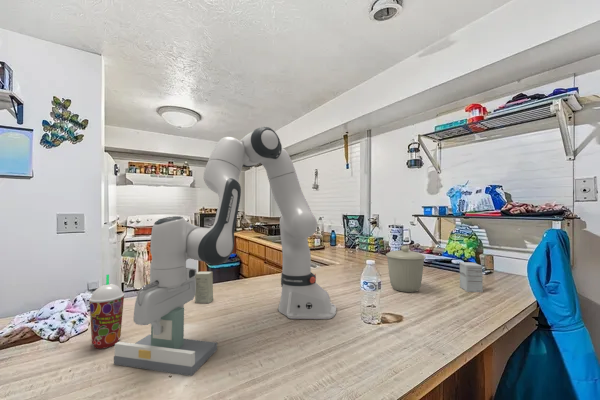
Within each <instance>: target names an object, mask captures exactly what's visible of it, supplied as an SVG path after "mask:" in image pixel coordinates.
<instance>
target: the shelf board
mask: <svg viewBox="0 0 600 400" xmlns="http://www.w3.org/2000/svg"><path fill="white" fill-rule="evenodd" d="M217 350H218V342H216V341H208V340H200V339H199V340H198V339H189V338H184V343H183V345H182V346H181V347H180V348H178V349H173V348H165V347H157V346H151V334H148V335H146V336H145V337H142V338H141V339H140V340H138V341H136V342H135V343H132V342H126V341H118V342H117V343H115V345H114V356H113V365H116V366H121V367H122V366H123V367H131V368H134V369H135V368H137V369H144V370H149V371H150V370H151V371H157V372H164V373H168V374H169V373H170V374H177V375H182V376H184V375H185V376H188V377H189V376H190V377H192V376H193V375H194V374H195V373H196V372H197V371H198V370H199V369H200V368H201V367H202V366H203V364H205V363H206V362H207V361H208V360H209V359H210V358H211V356H213V355H214V353H216V352H217Z"/></svg>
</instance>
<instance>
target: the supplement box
mask: <svg viewBox="0 0 600 400" xmlns="http://www.w3.org/2000/svg"><path fill="white" fill-rule="evenodd" d="M483 285H484V284H483V265H481V264H478V263H477V262H473V261H472V262H469V261H468V262H466V261H465V262H464V261H463V262H461V261H459V288H461V289H463V290H464V291H465V292H468V293H469V292H470V293H483V291H484V290H483V289H484V288H483Z"/></svg>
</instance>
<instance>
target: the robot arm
mask: <svg viewBox="0 0 600 400" xmlns="http://www.w3.org/2000/svg"><path fill="white" fill-rule="evenodd" d="M259 164H261V165H262V166H263V168H264V169H265V172H266V176H267V180H268V183H269V186H270V190H271V192H272V196H273V199H274V201H275V203H276V205H277V207H278V209H279V211H280V213H281V216H280V218H279V229H280V232H279V233H280V243H281V252H282V272H281V274H280V275H281V276H280V285H281V292H280V293H281V294H280V301H279V305H278V308H277V310H278V312H279V313H281V314H282V315H285V316H286V317H287V318H288V319H294V320H296V319H298V320H300V319H301V320H331V319H332V318H334V317H335V316H336V313H337V306H336V305H335V304H334V303H332V302H331V297H330V294H329V292H328V291H327V290H325V289H324V288H323V287H322V286H320V284H318V283H317V282H316V281H317V274H316V273H315V274H314V273H313V272H311V271H312V269H311V266H312V263H311V261H312V259H311V258H312V254H311V249H310V245H309V241H308V238H310V237H311V236H313V235H314V234H315V232H316V231H317V229H318V221H317V219H316V217H315V216H314V214H313V212H312V210H311V208H310V206H309V203H308V201H307V199H306V198H305V195H304V193H303V191H302V188H301V185H300V181H299V178H298V176H297V172H296V169H295V166H294V164H293V160H292V159H291V156H290V154H289V152H288V151H287V150H286V149H285V148H283V146H282V143H281V140H280V138H279V135H278V134H277V132H276V131H275V130H274V129H273V128H271V127H268V126H261V127H258V128H256V129H254V130H253V131H251V132H249V133H248V134H246V135H244V137H243V138H241V139H240V140H239V139H237V137H233V136H224V137H222V138H220V139H219V140H218V142H217V143H216V145H215V146H214V148H213V150H212V152H211V153H210V156H209V158H208V160H207V163H206V165H205V168H204V172H203V180H204V184H205V185H206V187H207V188H208V189H209V190H210V191H212V192H214V193H215V194H217V195H218V199H219V200H218V205H217V211H216V213H215V218H214V223H213V224H212V225H211V227H202V226H198V225H195V224H193V223H191V222H189V221H187V220H186V219H185V218H184V217H182V216H176V215H175V216H168V217H167V216H166V217H163V218H159V219H158V220H156V221H155V222H154V223H153V225H152V228H151V235H150V255H151V262H150V265H149V266H150V267H149V283H147V284H144V285H142V286H141V288H140V289H139V290H138V292H137V294H136V299H135V303H134V309H133V322H134V324H135V325H140V326H148V325H150V326H151V325H152V327H153V333H154V335H159V334H161V333H162V332H163V326H161V325H160V323H159V322H160V321H161V317H163V316H164V315H166V314H168V313H169V312H171V311H173V310H174V309H176V308H178V307H182V308H184V309H185V304H187V303H189V302H191V301H192V300H195V293H196V279H195V276H196V273H197V269H195V268H190V267H187V260H194V261H199V262H203V263H206V264H210V265H213V266H219V265H221V264H224V263H225V262H226V261H228V259H229V258H230V257H231V256H232V253H233V251H234V247H235V230H236V224H237V219H238V213H239V207H240V204H241V203H240V202H241V195H242V189H241V188H242V187H241V184H240V182H239V180H240V175H241V172H242V170H243V168H250V167H251V168H252V167H254V166H256V165H259Z"/></svg>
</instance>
